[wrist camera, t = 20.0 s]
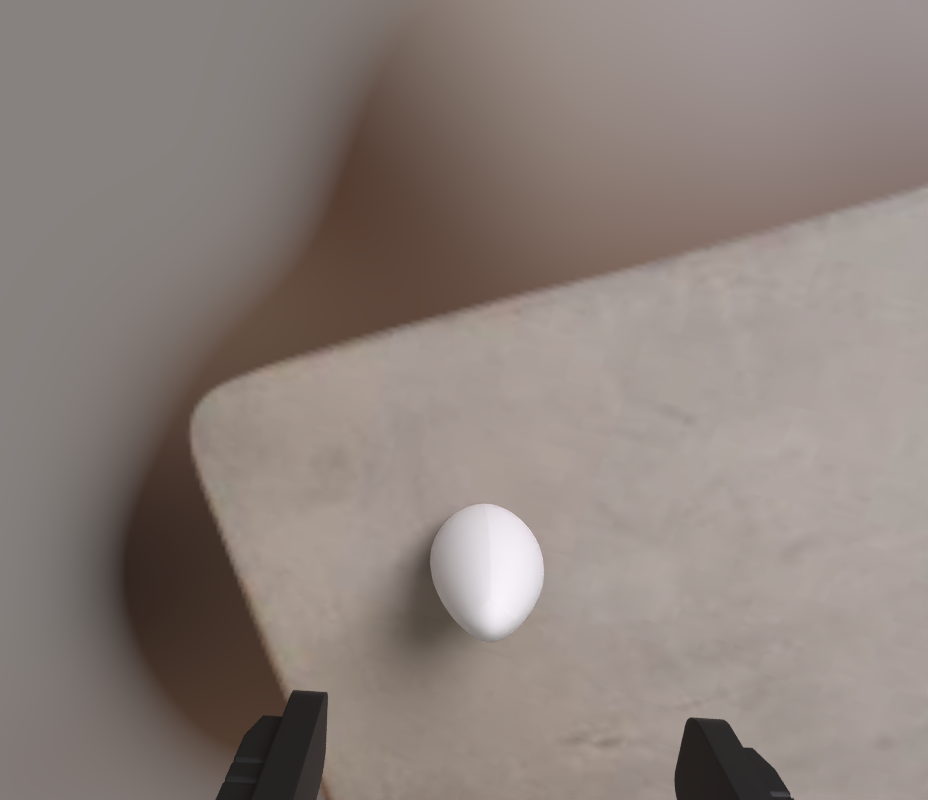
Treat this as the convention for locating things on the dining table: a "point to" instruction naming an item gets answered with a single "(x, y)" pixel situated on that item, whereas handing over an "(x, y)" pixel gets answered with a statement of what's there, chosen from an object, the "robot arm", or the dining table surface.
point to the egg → (487, 570)
